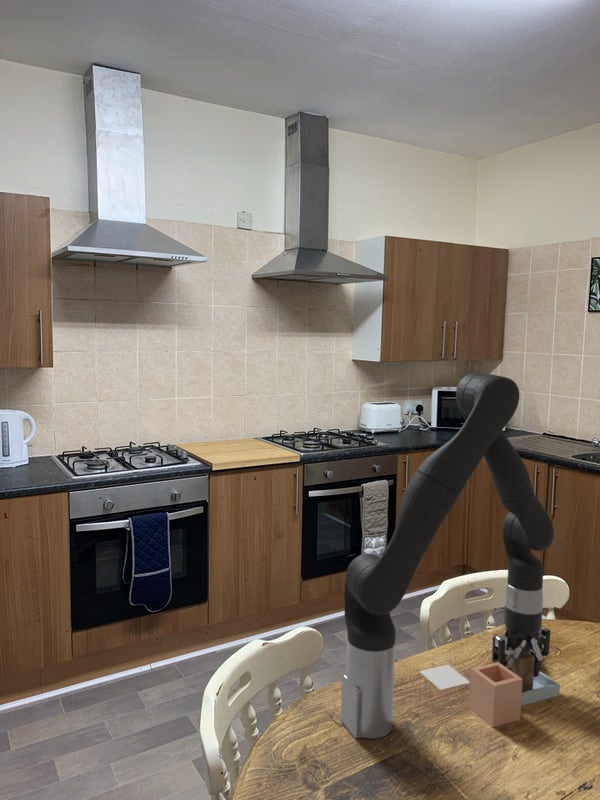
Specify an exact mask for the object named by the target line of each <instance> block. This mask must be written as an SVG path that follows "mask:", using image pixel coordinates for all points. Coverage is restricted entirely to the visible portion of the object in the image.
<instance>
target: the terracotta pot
mask: <svg viewBox="0 0 600 800" xmlns="http://www.w3.org/2000/svg"><path fill="white" fill-rule="evenodd" d="M469 676H470V677H469V679H470V680H469V681H470V683H469V699H468V708H469V710H471V711H472V712H473V713H475V714H476V715H477V717H479V718H480V719H481V720H483V721H484V722H485V723H486V724H487V725H489V726H490V728H496V727H499V726H503V725H506V724H510V723H513V722H517V721H520V720H521V715H522V714H521V713H522V706H521V699H522V681H523V679H522V678H520V677H519V676H518V675H516V674H515V673H513V672H512V671H510V670H509V669H508V668H506V667H505V666H503V665H502V664H500V663H499V662H495V663H494V662H492V663H488V664H484V665H480V666H475V667H471V668H470V675H469Z"/></svg>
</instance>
